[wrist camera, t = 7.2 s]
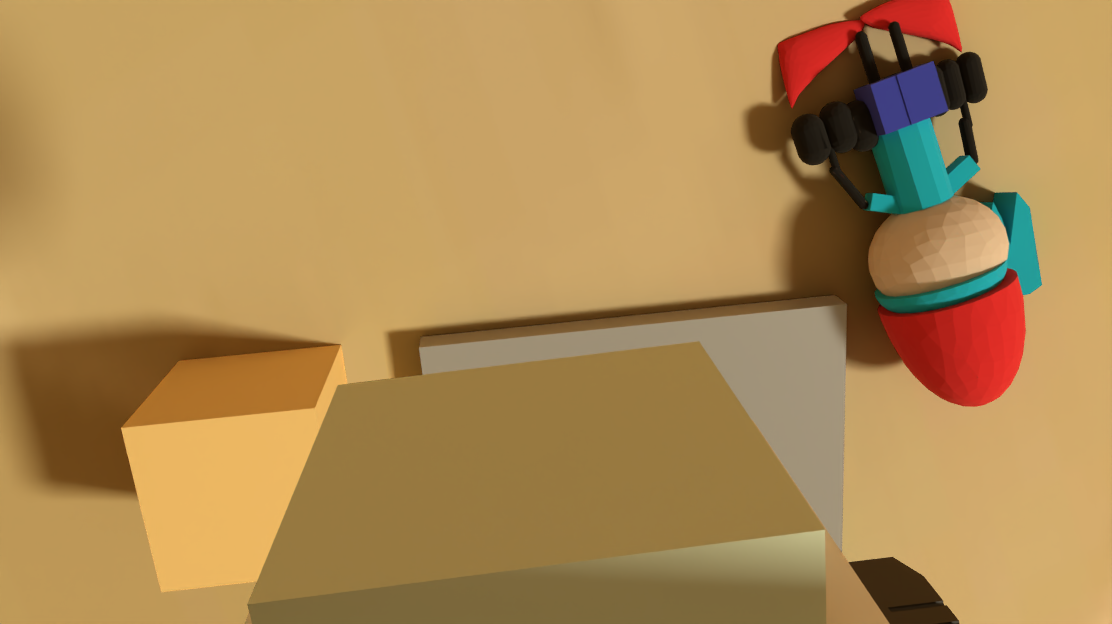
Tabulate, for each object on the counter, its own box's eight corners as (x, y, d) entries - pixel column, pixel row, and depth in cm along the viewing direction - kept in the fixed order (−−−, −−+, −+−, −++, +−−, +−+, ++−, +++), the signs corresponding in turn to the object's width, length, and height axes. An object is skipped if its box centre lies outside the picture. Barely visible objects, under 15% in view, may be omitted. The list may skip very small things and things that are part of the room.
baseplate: (420, 336, 35) (419, 347, 34) (834, 294, 36) (846, 304, 35) (466, 685, 40) (466, 705, 39) (829, 641, 41) (839, 659, 40)
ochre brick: (179, 359, 34) (120, 428, 29) (341, 344, 35) (314, 408, 29) (210, 502, 36) (161, 592, 31) (364, 485, 37) (343, 571, 31)
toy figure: (742, 58, 34) (864, 422, 37) (788, 34, 30) (925, 456, 32) (926, -12, 35) (1036, 353, 37) (1002, -46, 30) (1123, 376, 32)
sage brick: (337, 384, 15) (246, 604, 9) (699, 341, 15) (825, 530, 10) (389, 659, 17) (338, 988, 11) (715, 616, 17) (830, 916, 11)
